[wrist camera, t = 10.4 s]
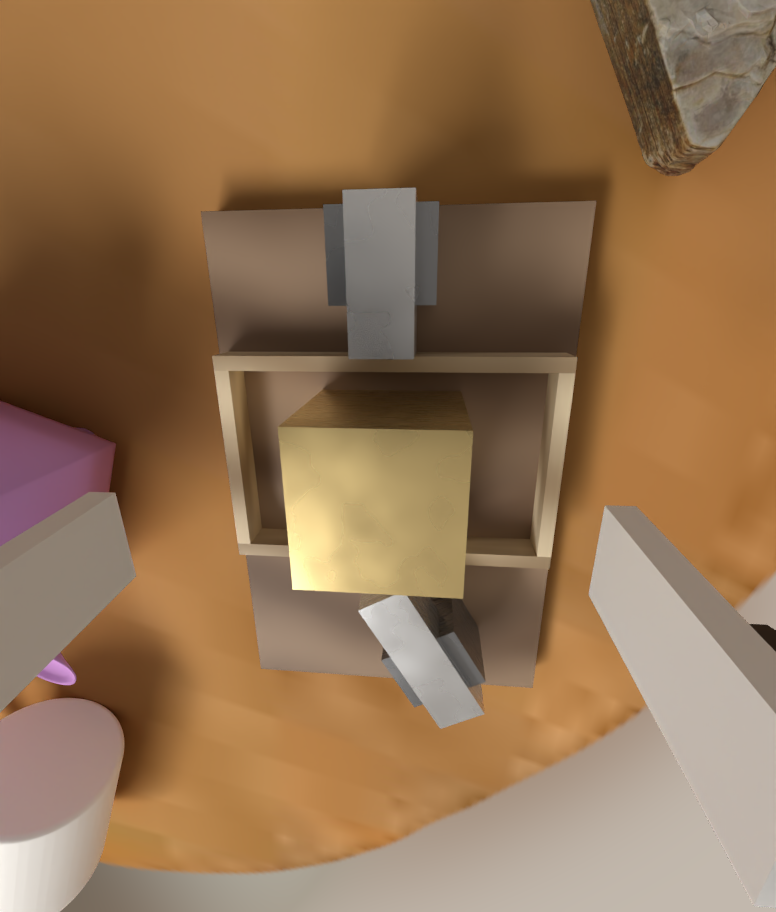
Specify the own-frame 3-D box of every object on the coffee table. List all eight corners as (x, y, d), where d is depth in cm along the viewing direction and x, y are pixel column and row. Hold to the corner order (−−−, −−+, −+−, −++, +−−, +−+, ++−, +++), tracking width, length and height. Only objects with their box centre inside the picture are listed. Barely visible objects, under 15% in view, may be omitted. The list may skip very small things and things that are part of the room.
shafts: (343, 213, 17) (319, 190, 13) (509, 209, 16) (530, 184, 13) (359, 657, 24) (347, 721, 21) (475, 665, 24) (483, 732, 20)
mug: (152, 719, 29) (56, 864, 22) (130, 810, 33) (41, 961, 25) (-24, 658, 29) (-182, 783, 22) (-26, 756, 32) (-164, 893, 25)
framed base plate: (214, 216, 19) (180, 203, 16) (585, 207, 17) (612, 191, 15) (268, 652, 26) (251, 690, 24) (528, 670, 25) (538, 712, 22)
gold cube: (322, 389, 19) (277, 426, 14) (461, 391, 19) (473, 430, 13) (329, 512, 21) (292, 589, 16) (455, 517, 21) (463, 598, 15)
